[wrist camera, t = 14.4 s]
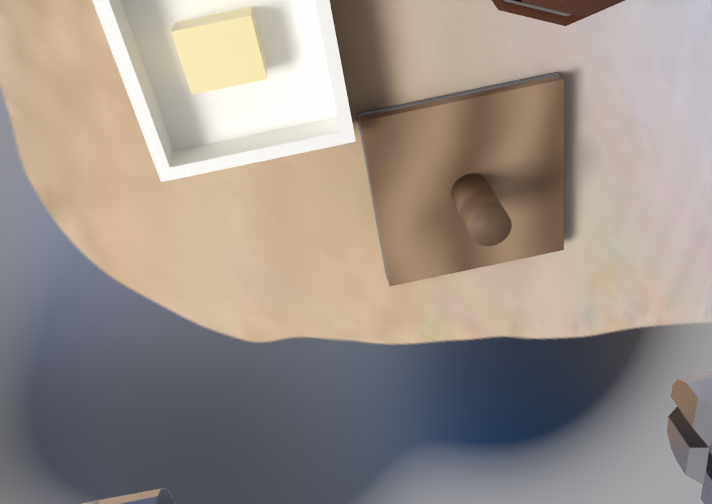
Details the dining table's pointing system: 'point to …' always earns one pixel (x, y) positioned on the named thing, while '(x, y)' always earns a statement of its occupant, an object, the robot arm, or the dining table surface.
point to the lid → (468, 179)
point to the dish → (237, 108)
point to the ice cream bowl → (555, 9)
